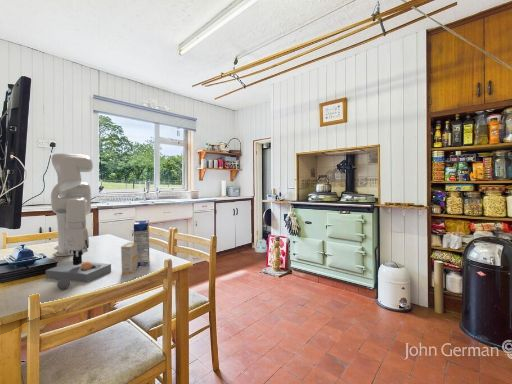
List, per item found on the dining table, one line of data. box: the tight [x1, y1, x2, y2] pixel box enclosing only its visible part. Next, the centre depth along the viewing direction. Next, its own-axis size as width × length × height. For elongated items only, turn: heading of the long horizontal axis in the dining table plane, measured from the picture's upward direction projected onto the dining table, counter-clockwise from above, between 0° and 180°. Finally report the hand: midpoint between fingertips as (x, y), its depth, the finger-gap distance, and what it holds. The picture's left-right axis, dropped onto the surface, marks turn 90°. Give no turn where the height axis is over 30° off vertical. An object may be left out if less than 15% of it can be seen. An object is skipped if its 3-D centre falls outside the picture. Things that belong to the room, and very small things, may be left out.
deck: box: [45, 260, 112, 283], centre depth 123 cm, size 22×14×4 cm, turn 78°
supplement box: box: [120, 241, 139, 274], centre depth 129 cm, size 8×5×13 cm, turn 5°
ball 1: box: [56, 278, 72, 290], centre depth 107 cm, size 4×4×4 cm
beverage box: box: [133, 220, 150, 268], centre depth 139 cm, size 7×11×22 cm, turn 21°
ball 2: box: [81, 261, 93, 270], centre depth 122 cm, size 4×4×4 cm
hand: (77, 264), depth 123 cm, fingers closed
